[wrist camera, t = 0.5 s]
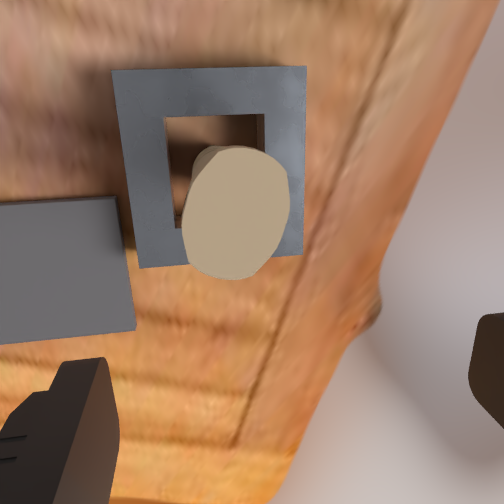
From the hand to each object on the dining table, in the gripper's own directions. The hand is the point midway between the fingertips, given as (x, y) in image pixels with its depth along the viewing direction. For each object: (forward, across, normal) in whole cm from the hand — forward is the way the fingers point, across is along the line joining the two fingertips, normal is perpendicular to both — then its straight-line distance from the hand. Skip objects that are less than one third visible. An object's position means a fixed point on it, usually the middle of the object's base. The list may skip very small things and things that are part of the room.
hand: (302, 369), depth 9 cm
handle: (+26, 0, 0) cm, 27 cm away
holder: (+26, 0, 0) cm, 26 cm away
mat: (+26, +14, +8) cm, 31 cm away
